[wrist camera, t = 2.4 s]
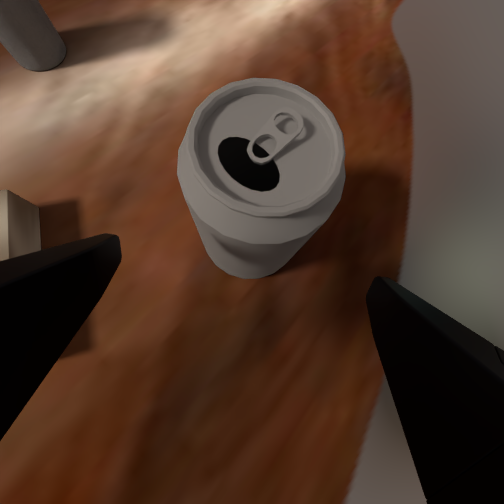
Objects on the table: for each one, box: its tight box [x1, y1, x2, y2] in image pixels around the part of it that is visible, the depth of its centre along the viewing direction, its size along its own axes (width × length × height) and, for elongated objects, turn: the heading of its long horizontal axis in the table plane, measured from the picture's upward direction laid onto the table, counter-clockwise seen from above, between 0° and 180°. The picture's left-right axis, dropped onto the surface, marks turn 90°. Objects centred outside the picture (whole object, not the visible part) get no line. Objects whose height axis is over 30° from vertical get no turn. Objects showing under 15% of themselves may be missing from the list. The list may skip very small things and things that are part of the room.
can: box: [177, 78, 346, 279], centre depth 16 cm, size 8×8×12 cm
